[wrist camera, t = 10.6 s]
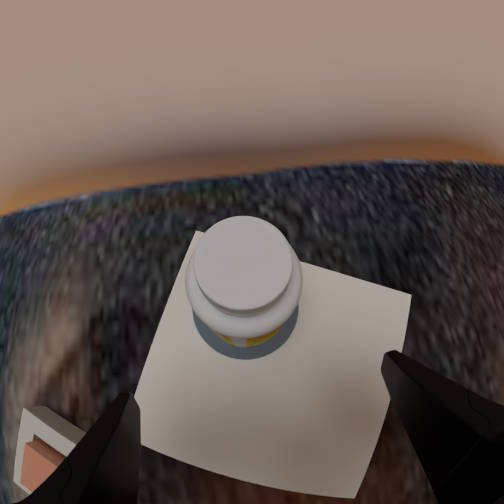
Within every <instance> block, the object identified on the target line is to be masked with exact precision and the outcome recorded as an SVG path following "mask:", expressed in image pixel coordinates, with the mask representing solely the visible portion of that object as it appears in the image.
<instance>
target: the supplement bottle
mask: <svg viewBox="0 0 504 504" xmlns="http://www.w3.org/2000/svg"><path fill="white" fill-rule="evenodd" d="M302 286H303V276H302V269H301V265H300V262H299V259H298V257H297V255H296V254H295V252H294V250H293V249H292V247H291V246H290V245H289V244H288V242H287V240H286V238H285V237H284V235H283V234H282V233H281V232H280V231H279V230H278V229H277V228H276V227H274V226H273V225H272V224H270V223H268V222H267V221H265V220H262V219H259V218H256V217H251V216H236V217H231V218H227V219H225V220H222V221H220V222H218V223H216V224H215V225H213V226H212V227H211V228H209V229H208V230H207V231H206V232H205V234H204V235H203V236H202V237H201V239H200V241H199V242H198V244H197V247H196V249H195V250H194V252H193V253H192V255H191V257H190V260H189V262H188V265H187V269H186V274H185V288H186V293H187V297H188V300H189V303H190V305H191V307H192V309H193V310H194V312H195V313H196V315H197V316H198V318H199V319H200V320H201V321H202V322H203V323H204V324H205V325H206V326H207V327H208V328H209V329H210V330H211V331H212V332H213V333H214V334H215V335H216V336H217V337H219V338H220V339H221V340H223V341H224V342H226V343H228V344H230V345H233V346H237V347H254V346H258V345H261V344H263V343H265V342H267V341H268V340H270V339H271V338H272V337H273V336H274V335H275V334H276V333H277V332H278V331H279V330H280V328H281V327H282V326H283V325H284V323H285V322H286V321H287V320H288V318H289V317H290V316H291V315H292V313H293V312H294V310H295V308H296V306H297V304H298V302H299V299H300V296H301V292H302Z"/></svg>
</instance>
